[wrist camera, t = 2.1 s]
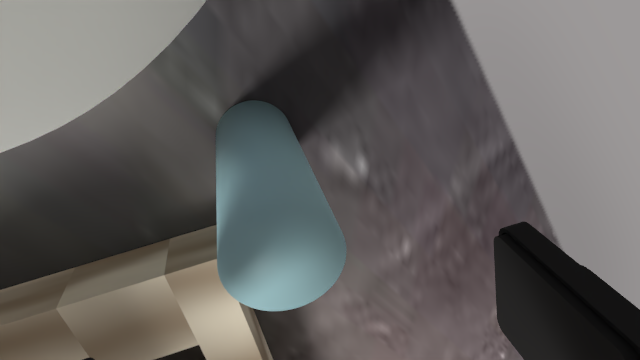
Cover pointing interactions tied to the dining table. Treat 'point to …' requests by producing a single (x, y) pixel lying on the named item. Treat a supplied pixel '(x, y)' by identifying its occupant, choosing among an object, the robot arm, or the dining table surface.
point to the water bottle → (75, 56)
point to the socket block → (132, 308)
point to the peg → (271, 213)
